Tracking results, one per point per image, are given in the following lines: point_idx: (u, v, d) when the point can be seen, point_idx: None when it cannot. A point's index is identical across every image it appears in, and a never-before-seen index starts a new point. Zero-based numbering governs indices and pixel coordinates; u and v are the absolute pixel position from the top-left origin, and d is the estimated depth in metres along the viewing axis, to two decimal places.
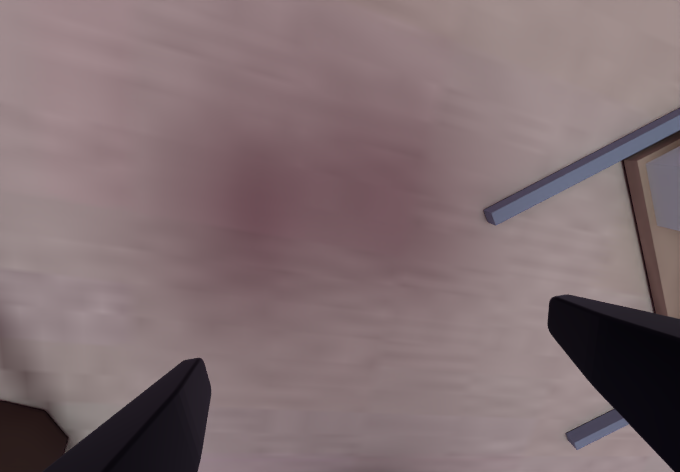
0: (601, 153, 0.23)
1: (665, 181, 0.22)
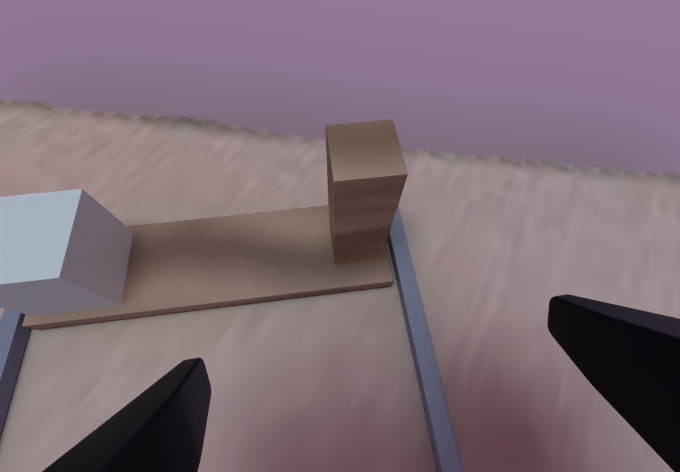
0: None
1: (40, 308, 0.19)
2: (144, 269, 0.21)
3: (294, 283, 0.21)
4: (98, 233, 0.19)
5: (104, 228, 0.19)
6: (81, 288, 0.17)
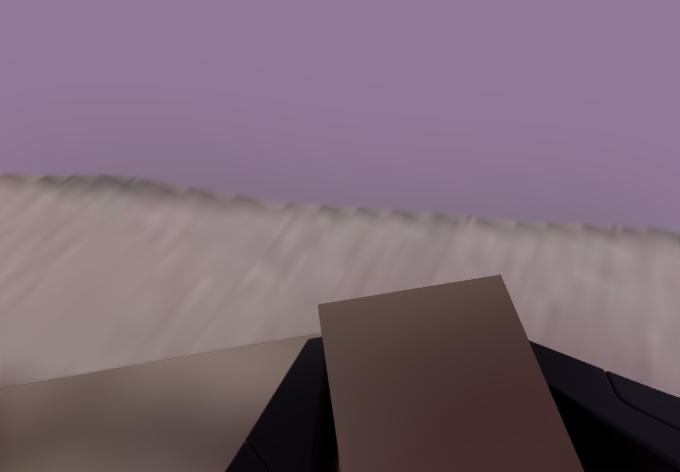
0: None
1: None
2: None
3: None
4: None
5: None
6: None
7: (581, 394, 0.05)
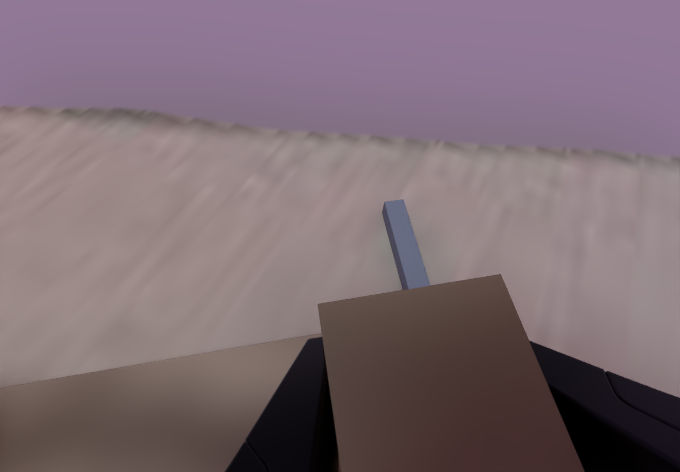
0: None
1: None
2: None
3: None
4: None
5: None
6: None
7: (581, 394, 0.05)
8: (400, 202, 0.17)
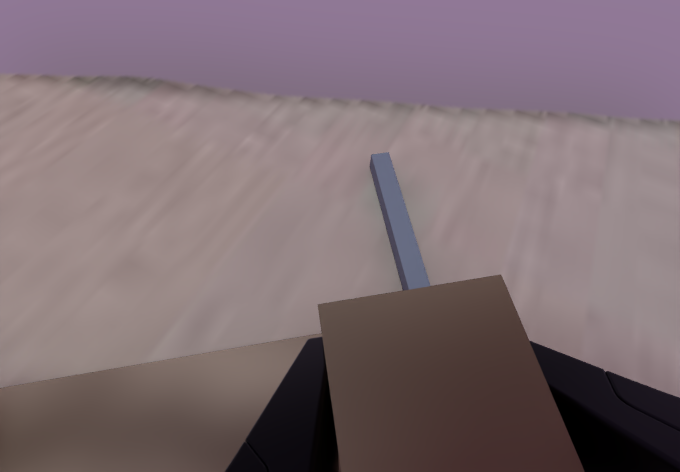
0: None
1: None
2: None
3: None
4: None
5: None
6: None
7: (581, 394, 0.05)
8: (386, 154, 0.19)
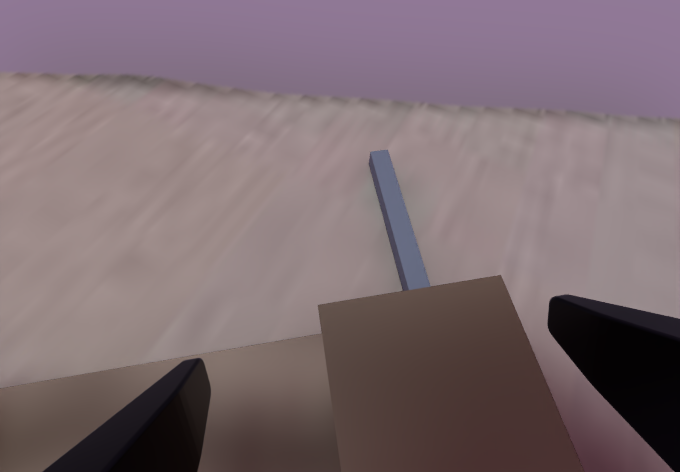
0: None
1: None
2: None
3: None
4: None
5: None
6: None
7: None
8: (385, 152, 0.19)
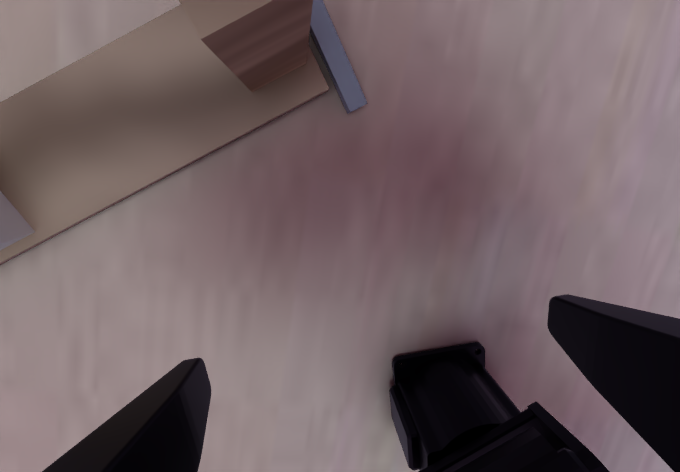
0: None
1: None
2: (21, 182, 0.16)
3: (214, 134, 0.17)
4: None
5: None
6: None
7: None
8: None
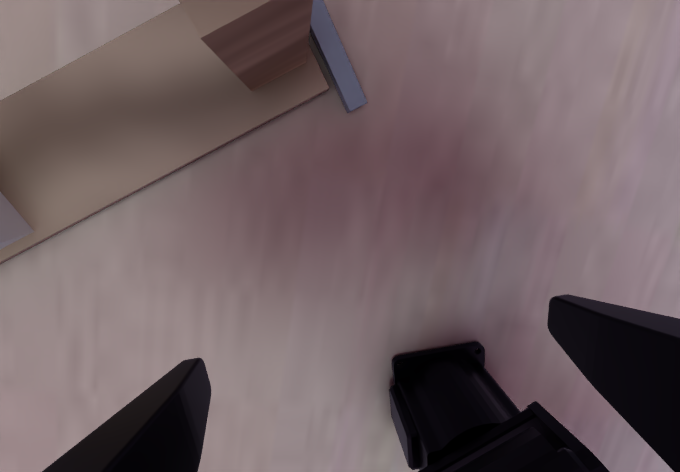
0: None
1: None
2: (20, 182, 0.16)
3: (214, 133, 0.17)
4: None
5: None
6: None
7: None
8: None
